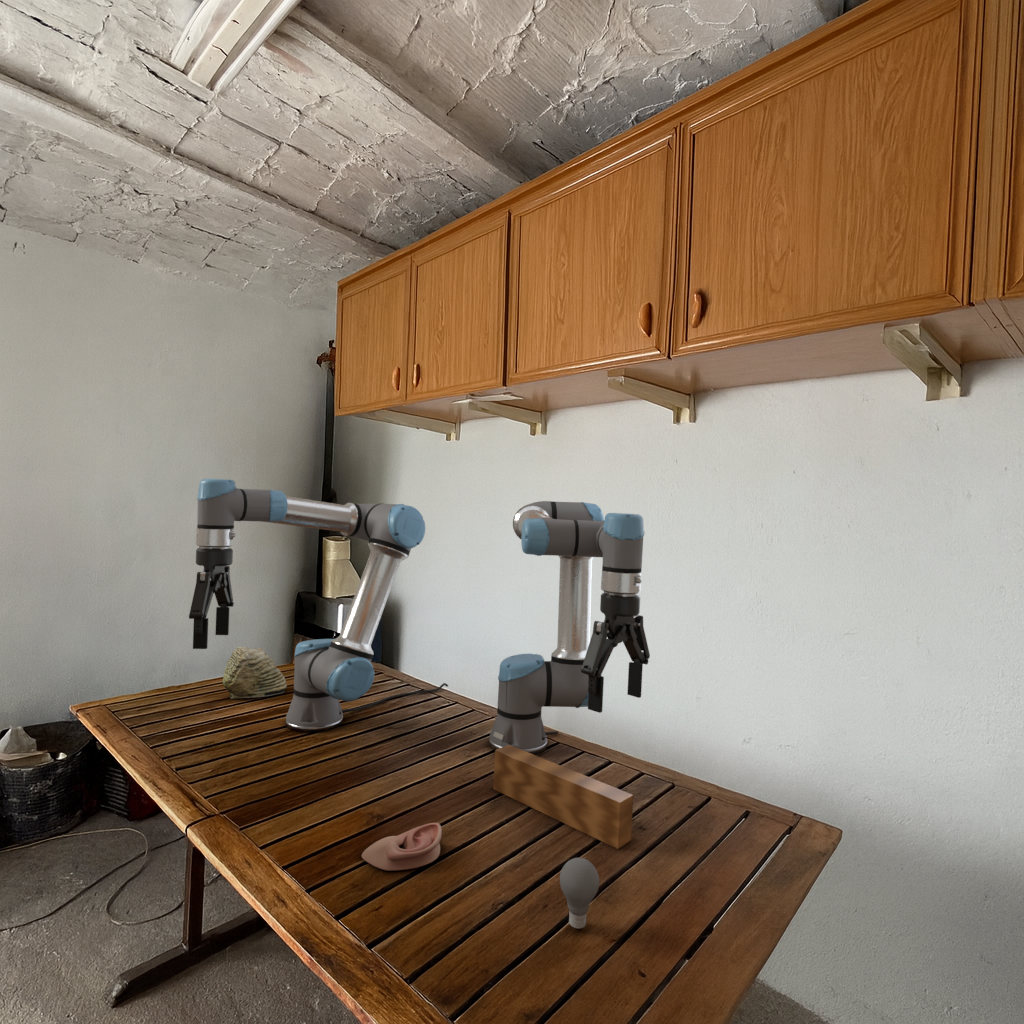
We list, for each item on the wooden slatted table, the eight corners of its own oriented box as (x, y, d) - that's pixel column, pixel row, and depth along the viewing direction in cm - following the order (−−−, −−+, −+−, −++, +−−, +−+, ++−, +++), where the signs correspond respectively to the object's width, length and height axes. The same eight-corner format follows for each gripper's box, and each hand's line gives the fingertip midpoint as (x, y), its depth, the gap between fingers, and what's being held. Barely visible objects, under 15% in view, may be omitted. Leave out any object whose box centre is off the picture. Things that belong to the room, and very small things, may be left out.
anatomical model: (354, 842, 109) (381, 811, 120) (353, 865, 109) (380, 831, 121) (427, 854, 107) (448, 821, 118) (426, 877, 107) (447, 842, 118)
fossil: (218, 695, 195) (220, 647, 195) (278, 685, 208) (279, 640, 207) (228, 703, 189) (230, 653, 188) (289, 692, 201) (290, 645, 201)
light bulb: (554, 912, 99) (557, 849, 99) (592, 912, 99) (595, 849, 99) (560, 939, 93) (564, 872, 93) (601, 939, 94) (604, 872, 93)
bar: (493, 789, 141) (494, 749, 141) (507, 783, 144) (509, 744, 144) (617, 849, 118) (620, 802, 118) (631, 840, 122) (633, 794, 122)
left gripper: (212, 552, 130) (208, 655, 131) (249, 543, 155) (245, 630, 155) (173, 551, 129) (170, 654, 130) (217, 542, 154) (213, 629, 155)
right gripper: (599, 602, 110) (593, 723, 110) (670, 590, 128) (665, 694, 129) (565, 596, 115) (560, 711, 116) (638, 586, 133) (633, 686, 134)
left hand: (211, 641), depth 143 cm, fingers open, 13 cm apart
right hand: (615, 703), depth 122 cm, fingers open, 13 cm apart
